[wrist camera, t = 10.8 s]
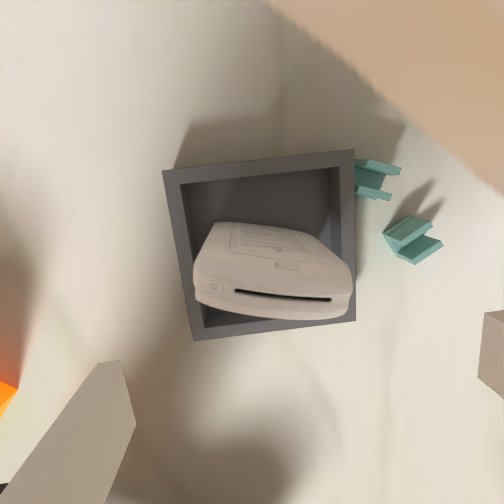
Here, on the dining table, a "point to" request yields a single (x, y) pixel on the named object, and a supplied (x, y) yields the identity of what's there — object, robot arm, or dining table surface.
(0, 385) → the orange juice
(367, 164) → the clip
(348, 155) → the grey square tray
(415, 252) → the clip
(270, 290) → the photo printer
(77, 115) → the dining table surface
